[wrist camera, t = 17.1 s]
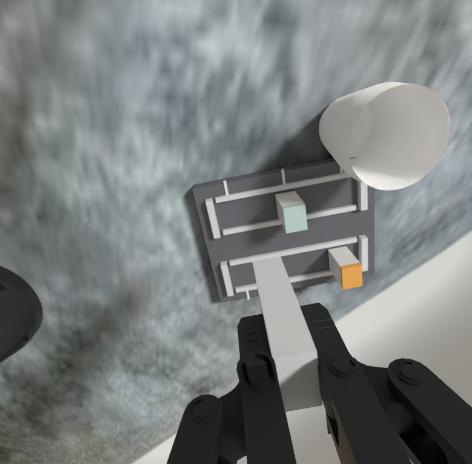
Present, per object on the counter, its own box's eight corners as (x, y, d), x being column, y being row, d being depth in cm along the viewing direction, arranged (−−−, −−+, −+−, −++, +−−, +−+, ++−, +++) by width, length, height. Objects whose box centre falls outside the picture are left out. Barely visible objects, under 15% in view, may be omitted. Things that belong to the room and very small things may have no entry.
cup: (355, 175, 40) (408, 207, 29) (294, 145, 38) (326, 167, 27) (398, 106, 37) (475, 112, 26) (334, 69, 35) (388, 59, 24)
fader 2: (329, 268, 43) (342, 289, 38) (328, 249, 42) (341, 269, 37) (346, 265, 43) (362, 286, 38) (346, 246, 42) (362, 265, 37)
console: (221, 295, 47) (221, 308, 44) (192, 182, 39) (191, 189, 36) (367, 268, 46) (377, 279, 43) (367, 148, 39) (378, 152, 36)
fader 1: (278, 216, 39) (286, 233, 35) (275, 194, 38) (283, 208, 34) (297, 213, 39) (307, 229, 35) (294, 190, 38) (305, 204, 33)
